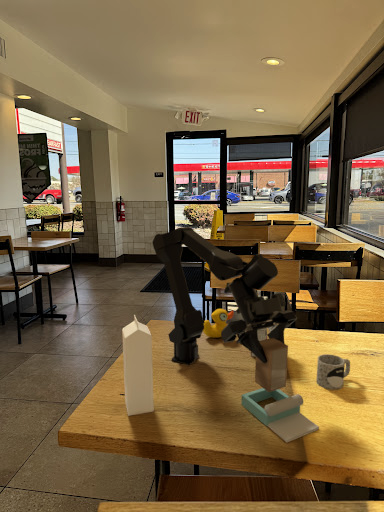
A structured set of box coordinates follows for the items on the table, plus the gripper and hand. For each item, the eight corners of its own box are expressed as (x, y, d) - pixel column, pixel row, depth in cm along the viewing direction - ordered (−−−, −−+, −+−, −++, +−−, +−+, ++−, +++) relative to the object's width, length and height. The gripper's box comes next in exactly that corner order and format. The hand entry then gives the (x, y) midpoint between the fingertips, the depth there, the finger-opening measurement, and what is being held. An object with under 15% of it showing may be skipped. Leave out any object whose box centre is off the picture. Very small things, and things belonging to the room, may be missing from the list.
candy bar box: (251, 342, 124) (252, 295, 121) (266, 343, 123) (268, 296, 120) (249, 357, 113) (251, 305, 110) (266, 358, 112) (268, 306, 109)
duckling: (230, 332, 133) (230, 305, 131) (236, 337, 128) (236, 310, 126) (200, 335, 130) (200, 308, 128) (205, 341, 125) (205, 313, 123)
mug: (329, 392, 93) (330, 367, 92) (311, 380, 99) (312, 357, 98) (358, 383, 97) (360, 360, 96) (339, 372, 103) (340, 350, 102)
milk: (128, 416, 84) (123, 324, 80) (125, 401, 90) (120, 315, 86) (154, 411, 86) (151, 321, 82) (149, 397, 91) (146, 312, 87)
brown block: (255, 381, 86) (256, 341, 84) (271, 376, 89) (273, 337, 87) (269, 392, 82) (270, 350, 80) (286, 386, 84) (288, 345, 82)
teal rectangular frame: (241, 404, 88) (241, 385, 87) (272, 394, 93) (273, 376, 92) (285, 443, 75) (286, 421, 74) (319, 428, 79) (321, 408, 78)
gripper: (228, 287, 80) (258, 355, 73) (293, 277, 89) (326, 337, 81) (210, 311, 88) (235, 374, 81) (271, 300, 97) (299, 356, 89)
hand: (275, 360), depth 83 cm, fingers closed on brown block, 5 cm apart
